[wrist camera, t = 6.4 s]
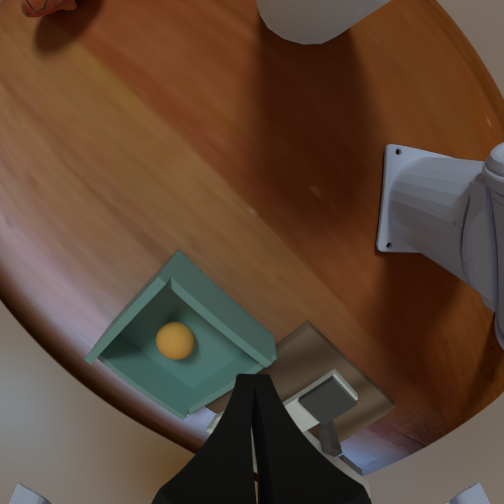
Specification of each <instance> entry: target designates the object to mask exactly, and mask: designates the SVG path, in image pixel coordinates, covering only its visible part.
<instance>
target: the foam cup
mask: <svg viewBox="0 0 504 504" xmlns="http://www.w3.org/2000/svg"><path fill="white" fill-rule="evenodd" d="M389 1H391V0H256V2H257V6H258V11H259V12H260V16H261V18H262V19H263V21H264V23H265V24H266V26H267V28H268V29H270V30H271V31H273V32H274V33H276V34H277V35H279V36H280V37H281V38H283V39H285V40H289V41H293V42H296V43H299V44H303V45H305V44H323V43H325V42H327V41H329V40H331V39H333V38H335V37H337V36H338V35H340V34H341V33H343V32H344V31H346V30H347V29H348V28H350V27H351V26H353V25H354V24H355V23H357V22H358V21H360V20H361V19H363V18H364V17H366V16H367V15H369V14H370V13H372V12H373V11H375V10H376V9H378V8H380V7H381V6H383V5H384V4H386V3H388V2H389Z"/></svg>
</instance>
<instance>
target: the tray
mask: <svg viewBox="0 0 504 504" xmlns="http://www.w3.org/2000/svg"><path fill="white" fill-rule="evenodd" d="M357 399H358V395H357V393H356V392H355V391H354V389H353V388H352V387H351V386H350V385H349V384H348V383H347V382H346V381H345V380H344V378H343V377H342V376H341V375H340V374H339V373H338V372H337V371H336V370H335V369H333V370H331V371H330V372H329V373H327V374H326V375H324V376H323V377H321V378H320V379H318V380H317V381H315V382H314V383H312V384H311V385H309V386H308V387H306V388H305V389H303V390H302V391H300V392H299V393H297V394H295V395H294V396H292V397H291V398H289V399H287V400H286V401H284V402H282V403H283V404H284V406H285V408H286V410H287V411H288V413H289V415H290V416H291V418H292V419H293V421H294V422H295V423H296V425H297V426H298V428H299V429H300V430H301V432H302V433H303V434H304V435H305V437H306V438H307V439H308V440H309V441H310V442H311V443H312V445H313V446H314V447H315V448H316V449H317V450H318V451H319V452H320V453H321V454H322V455H324V456H325V457H326V458H327V459H328V460H329V461H330V462H331V463H332V464H334V465H335V466H336V467H337V468H339V469H340V470H341V471H343V472H344V473H345V474H347V475H348V476H350V477H351V478H352V479H354V480H356V481H357V482H359V483H360V484H362V485H363V486H364V487H365V489H366V491H367V493H368V495H369V497H371V496H370V486H369V482H368V481H367V480H366V479H364V478H363V477H362V470H361V469H360V468H359V467H357V466H356V465H355V464H354V463H353V462H351V461H350V460H349V459H348V458H347V457H345V456H344V455H342V456H340V457H337V456H336V457H333V456H331V455H328V454H326V453H324V451H323V446H322V443H321V442H320V441H318V440H317V439H316V438H315V437H314V436H313V435H312V434H311V433H309V432H308V431H307V430H308V429H310V428H311V427H313V426H315V425H317V424H319V423H321V424H322V425H325V424H327V423H328V422H330V421H332V420H333V419H335V418H337V417H338V416H340V415H342V414H343V413H345V412H346V411H348V410H350V409H351V408H353V407H354V406H356V405H357V403H356V400H357ZM224 411H225V410H224ZM224 411H222V412H221V413H219V414H217V415H215V416H214V418H213V420H212V421H211V423H210V425H209V426H208V428H207V430H206V431H207V432H208V433H209V434H210V435H211V433H212V432H213V430H214V429H215V427H216V425H217V424H218V422H219V420H220V418H221V416H222V414H223V413H224ZM251 435H252V426H251ZM252 454H253V469H254V472H256V473H257V465H256V457H255V450H254V442H253V435H252Z"/></svg>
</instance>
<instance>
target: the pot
mask: <svg viewBox="0 0 504 504" xmlns="http://www.w3.org/2000/svg"><path fill="white" fill-rule="evenodd" d="M76 7H77V4H76V3H75V0H21V8H22V11H23V13H24V14H25V16H27V17H40V16H44V15H47V14H50V13H52V12H55V11H57V10H68V11H72V10H75V9H76Z"/></svg>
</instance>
